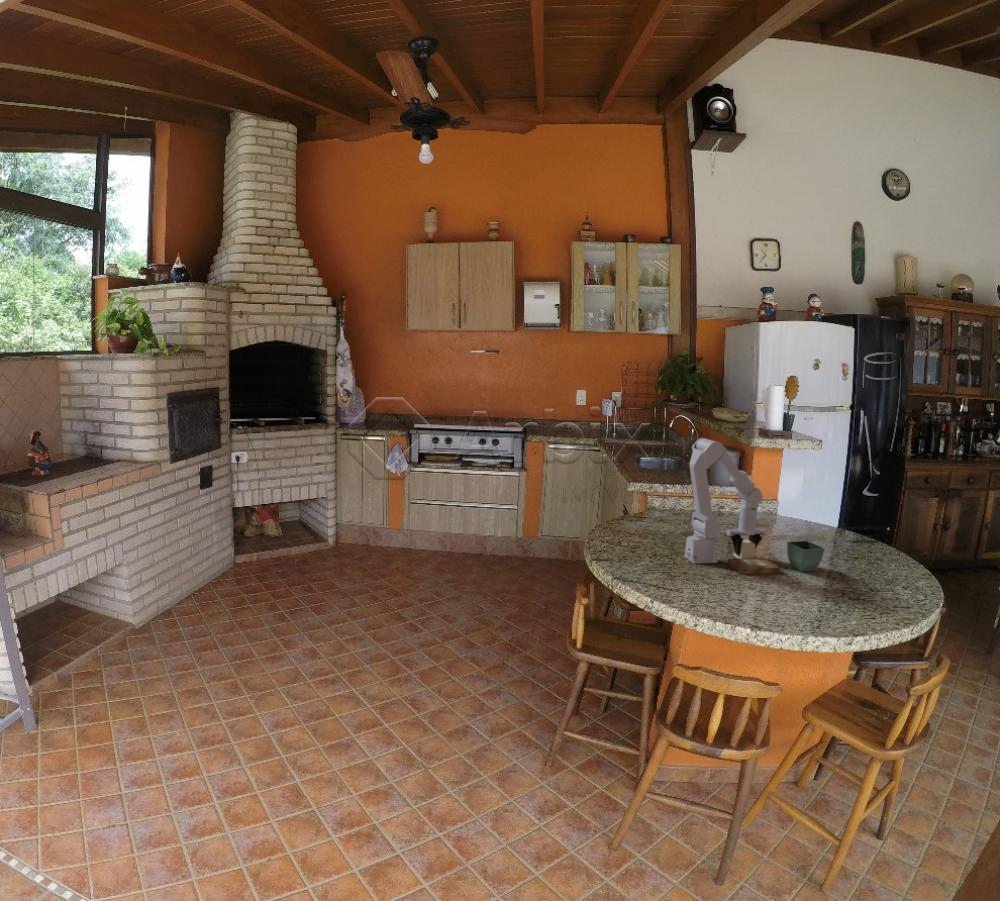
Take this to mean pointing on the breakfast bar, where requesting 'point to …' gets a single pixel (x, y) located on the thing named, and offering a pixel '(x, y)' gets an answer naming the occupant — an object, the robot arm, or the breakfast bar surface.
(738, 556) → the cream block
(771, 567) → the walnut base
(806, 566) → the flower pot
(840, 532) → the breakfast bar surface
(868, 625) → the breakfast bar surface
